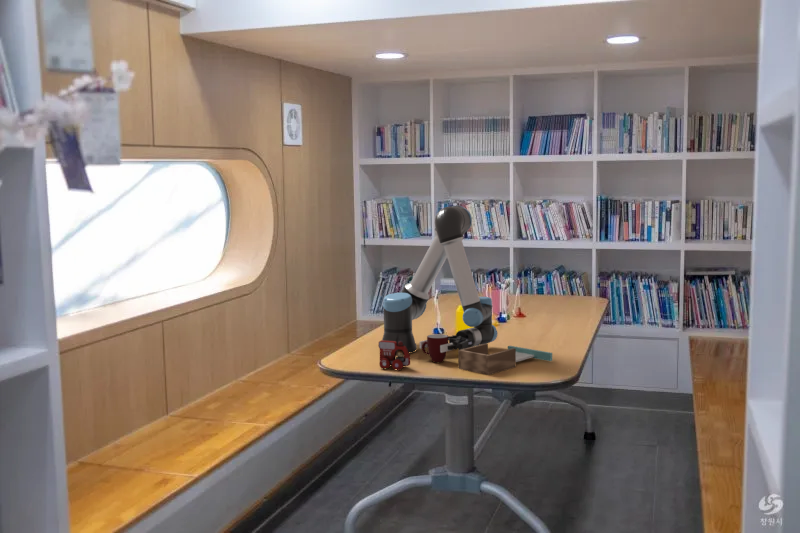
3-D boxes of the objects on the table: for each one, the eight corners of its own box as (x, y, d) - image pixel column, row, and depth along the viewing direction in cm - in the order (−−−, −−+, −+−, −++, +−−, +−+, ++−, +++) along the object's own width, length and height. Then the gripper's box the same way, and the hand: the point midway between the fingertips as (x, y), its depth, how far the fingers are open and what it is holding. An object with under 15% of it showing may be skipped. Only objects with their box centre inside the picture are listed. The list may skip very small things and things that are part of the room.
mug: (418, 362, 308) (418, 337, 307) (424, 358, 316) (424, 333, 314) (444, 364, 305) (444, 338, 303) (450, 359, 312) (450, 334, 311)
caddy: (458, 368, 298) (458, 350, 297) (485, 361, 309) (485, 343, 308) (488, 374, 287) (488, 355, 287) (515, 367, 299) (515, 348, 298)
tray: (484, 359, 308) (484, 352, 308) (509, 352, 319) (509, 345, 319) (527, 367, 294) (527, 359, 294) (552, 360, 305) (552, 352, 305)
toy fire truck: (406, 371, 295) (405, 343, 294) (375, 369, 299) (375, 341, 298) (413, 367, 301) (412, 340, 300) (382, 364, 306) (382, 338, 305)
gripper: (489, 351, 316) (452, 361, 300) (446, 343, 332) (409, 352, 316) (489, 332, 315) (452, 341, 299) (446, 325, 331) (409, 333, 315)
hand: (430, 347), depth 308 cm, fingers closed on mug, 10 cm apart
